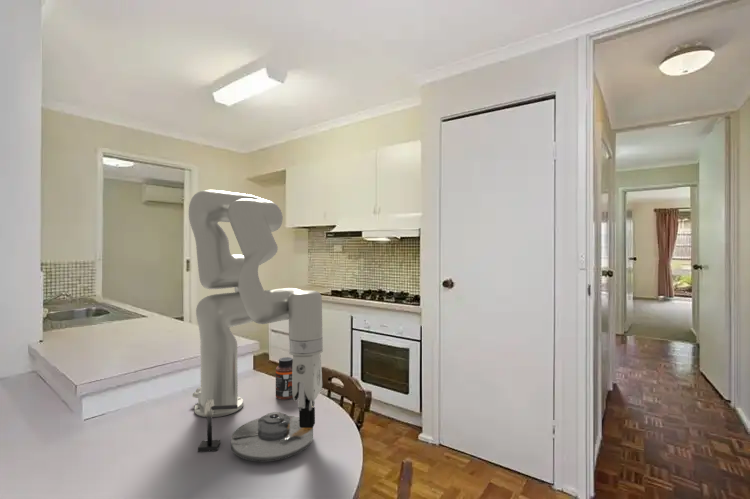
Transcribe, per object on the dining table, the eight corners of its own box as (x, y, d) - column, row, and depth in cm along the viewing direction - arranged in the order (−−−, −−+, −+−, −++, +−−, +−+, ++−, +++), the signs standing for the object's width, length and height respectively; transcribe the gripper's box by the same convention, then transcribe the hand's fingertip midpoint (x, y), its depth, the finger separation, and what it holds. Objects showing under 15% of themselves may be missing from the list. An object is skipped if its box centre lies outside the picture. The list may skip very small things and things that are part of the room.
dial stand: (197, 452, 85) (197, 403, 85) (202, 444, 89) (202, 397, 88) (235, 450, 86) (235, 402, 86) (239, 442, 90) (239, 395, 89)
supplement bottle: (291, 401, 113) (290, 362, 113) (271, 399, 114) (271, 361, 114) (299, 393, 119) (299, 356, 119) (280, 392, 120) (280, 355, 120)
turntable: (230, 468, 77) (230, 445, 77) (231, 427, 94) (231, 409, 94) (320, 452, 83) (320, 431, 83) (306, 416, 100) (306, 399, 100)
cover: (256, 442, 84) (257, 424, 84) (258, 427, 91) (259, 410, 91) (289, 439, 86) (290, 421, 86) (289, 424, 93) (289, 408, 93)
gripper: (315, 354, 81) (316, 442, 81) (328, 337, 96) (329, 412, 96) (279, 354, 81) (281, 442, 81) (298, 337, 96) (299, 412, 96)
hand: (307, 425), depth 89 cm, fingers closed
